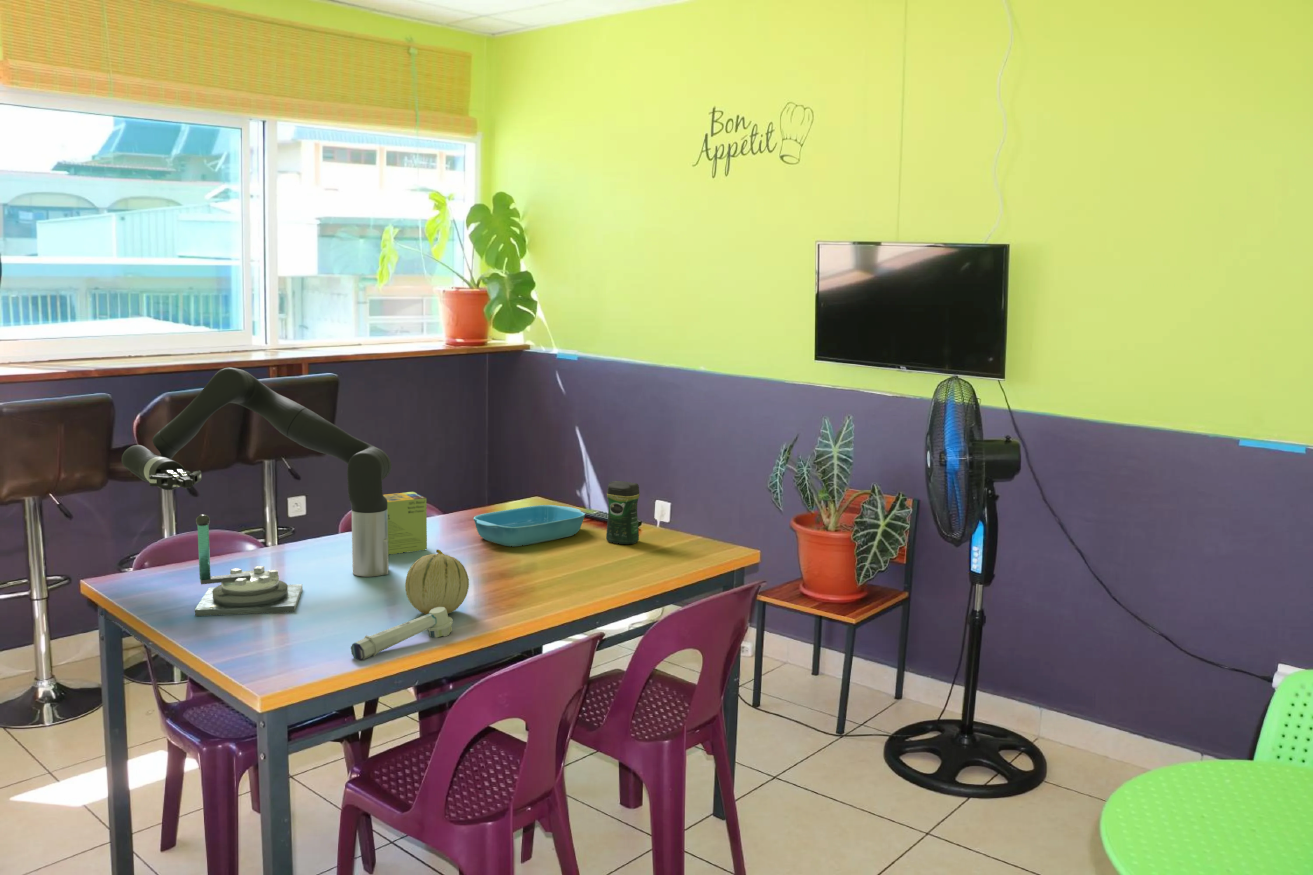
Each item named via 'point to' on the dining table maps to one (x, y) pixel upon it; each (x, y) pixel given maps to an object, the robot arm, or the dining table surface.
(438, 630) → the beige piece
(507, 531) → the casserole dish
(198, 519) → the crank handle wheel
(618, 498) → the coffee jar
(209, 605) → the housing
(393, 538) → the protein box
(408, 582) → the cantaloupe
